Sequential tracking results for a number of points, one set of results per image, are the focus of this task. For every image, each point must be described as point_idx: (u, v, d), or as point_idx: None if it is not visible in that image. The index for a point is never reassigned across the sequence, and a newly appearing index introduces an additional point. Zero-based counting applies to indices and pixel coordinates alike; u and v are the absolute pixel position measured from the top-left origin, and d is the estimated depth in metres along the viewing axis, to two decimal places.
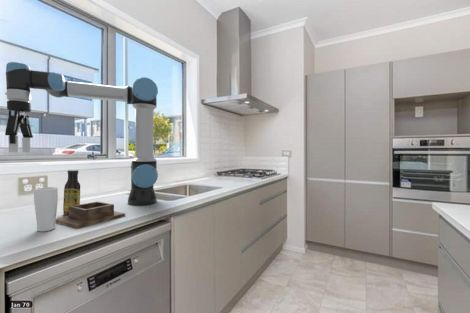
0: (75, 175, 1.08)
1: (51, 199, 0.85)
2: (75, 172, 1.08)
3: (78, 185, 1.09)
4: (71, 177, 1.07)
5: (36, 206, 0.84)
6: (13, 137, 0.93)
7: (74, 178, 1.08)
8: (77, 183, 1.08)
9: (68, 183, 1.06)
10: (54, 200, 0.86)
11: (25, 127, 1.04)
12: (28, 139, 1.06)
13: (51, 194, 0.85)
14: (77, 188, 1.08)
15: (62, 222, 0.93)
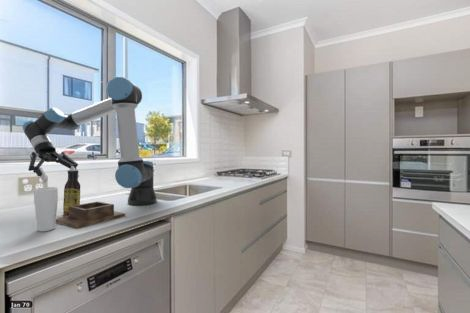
0: (75, 175, 1.08)
1: (51, 199, 0.85)
2: (75, 172, 1.08)
3: (78, 185, 1.09)
4: (71, 177, 1.07)
5: (36, 206, 0.84)
6: (36, 170, 1.04)
7: (74, 178, 1.08)
8: (77, 183, 1.08)
9: (68, 183, 1.06)
10: (54, 200, 0.86)
11: (61, 161, 1.17)
12: (72, 168, 1.18)
13: (51, 194, 0.85)
14: (77, 188, 1.08)
15: (62, 222, 0.93)
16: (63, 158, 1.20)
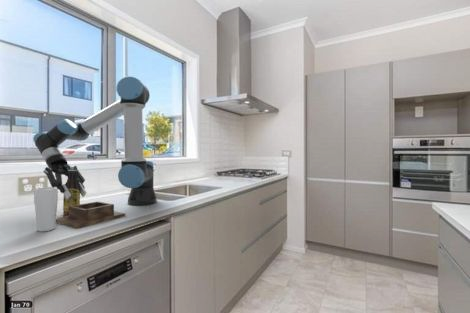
0: (75, 175, 1.08)
1: (51, 199, 0.85)
2: (74, 172, 1.07)
3: (78, 185, 1.09)
4: (71, 177, 1.07)
5: (36, 206, 0.84)
6: (60, 187, 1.04)
7: (74, 178, 1.07)
8: (76, 183, 1.08)
9: (68, 183, 1.06)
10: (54, 200, 0.86)
11: None
12: None
13: (51, 194, 0.85)
14: (77, 188, 1.08)
15: (62, 222, 0.93)
16: None
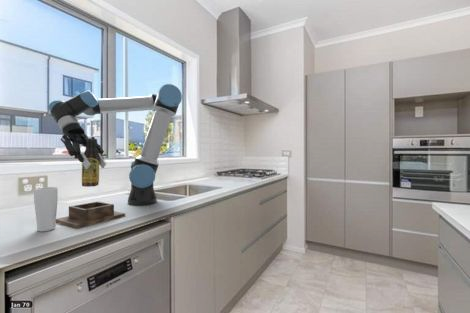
0: (94, 144, 1.00)
1: (51, 199, 0.85)
2: (94, 140, 0.99)
3: (97, 155, 1.00)
4: (90, 146, 0.99)
5: (36, 206, 0.84)
6: (78, 155, 0.96)
7: (93, 147, 0.99)
8: (96, 152, 1.00)
9: (87, 152, 0.98)
10: (54, 200, 0.86)
11: None
12: None
13: (51, 194, 0.85)
14: (96, 158, 1.00)
15: (62, 222, 0.93)
16: None
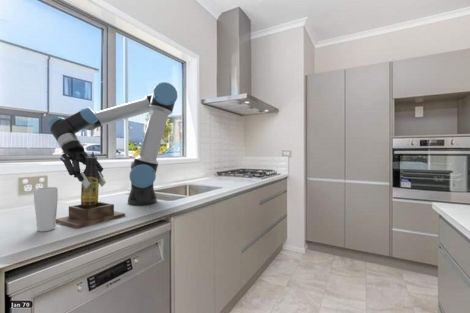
0: (94, 163, 1.00)
1: (51, 199, 0.85)
2: (93, 159, 0.99)
3: (97, 174, 1.00)
4: (89, 165, 0.99)
5: (36, 206, 0.84)
6: (78, 175, 0.96)
7: (93, 166, 0.99)
8: (95, 171, 1.00)
9: (86, 171, 0.98)
10: (54, 200, 0.86)
11: None
12: None
13: (51, 194, 0.85)
14: (96, 177, 1.00)
15: (62, 222, 0.93)
16: None
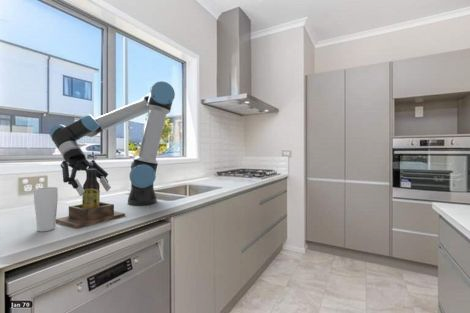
0: (94, 174, 1.00)
1: (51, 199, 0.85)
2: (94, 170, 0.99)
3: (97, 185, 1.01)
4: (90, 177, 0.99)
5: (36, 206, 0.84)
6: (72, 182, 0.94)
7: (93, 177, 0.99)
8: (96, 183, 1.00)
9: (87, 183, 0.98)
10: (54, 200, 0.86)
11: None
12: (102, 178, 1.06)
13: (51, 194, 0.85)
14: (97, 189, 1.00)
15: (62, 222, 0.93)
16: (93, 167, 1.09)
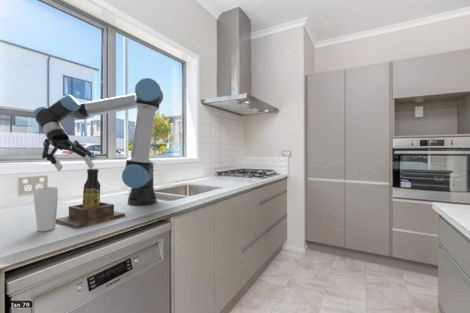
0: (95, 174, 1.00)
1: (51, 199, 0.85)
2: (95, 170, 1.00)
3: (98, 185, 1.01)
4: (91, 177, 0.99)
5: (36, 206, 0.84)
6: (51, 158, 0.98)
7: (94, 177, 1.00)
8: (97, 183, 1.01)
9: (88, 183, 0.99)
10: (54, 200, 0.86)
11: (75, 149, 1.10)
12: (86, 156, 1.11)
13: (51, 194, 0.85)
14: (97, 189, 1.00)
15: (62, 222, 0.93)
16: (76, 147, 1.13)
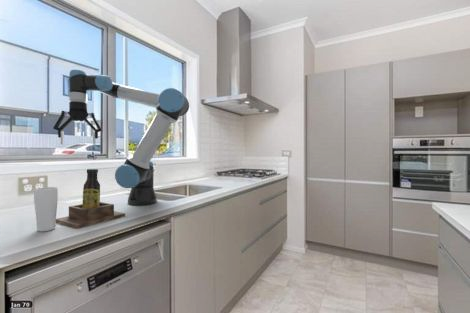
0: (95, 174, 1.00)
1: (51, 199, 0.85)
2: (95, 171, 1.00)
3: (98, 185, 1.01)
4: (90, 177, 0.99)
5: (36, 206, 0.84)
6: (58, 132, 1.16)
7: (94, 177, 1.00)
8: (97, 183, 1.00)
9: (88, 183, 0.98)
10: (54, 200, 0.86)
11: (87, 123, 1.21)
12: (93, 133, 1.22)
13: (51, 194, 0.85)
14: (97, 189, 1.00)
15: (62, 222, 0.93)
16: (92, 118, 1.23)
